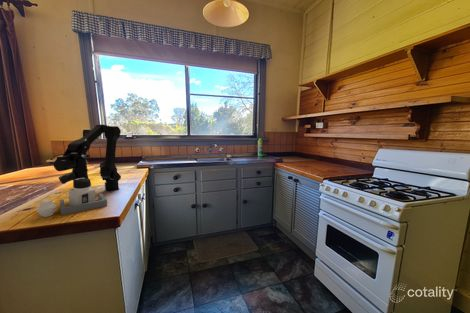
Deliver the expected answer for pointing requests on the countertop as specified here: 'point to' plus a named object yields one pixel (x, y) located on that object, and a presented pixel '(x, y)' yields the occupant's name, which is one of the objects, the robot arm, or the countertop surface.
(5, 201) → the countertop surface
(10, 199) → the countertop surface
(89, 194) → the container
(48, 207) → the white rounded lump
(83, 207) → the display bay
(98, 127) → the robot arm
